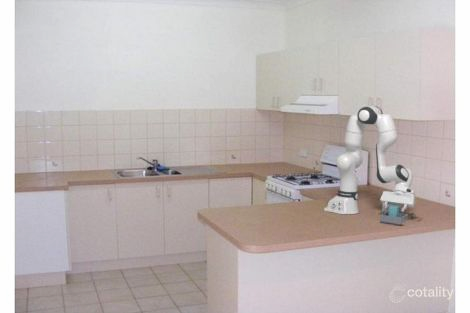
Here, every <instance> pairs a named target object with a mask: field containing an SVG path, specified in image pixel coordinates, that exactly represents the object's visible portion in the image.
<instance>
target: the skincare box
mask: <svg viewBox="0 0 470 313" xmlns="http://www.w3.org/2000/svg"><path fill="white" fill-rule="evenodd" d="M387 206H388V207H389V209H388V210H386V209H385V207H386V205H385V204H383V203H382V208H381V210H382V211H381V214H383V213H385V212H387V211H389V210H390V206H397V205H390V204H388V205H387Z"/></svg>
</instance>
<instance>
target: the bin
mask: <svg viewBox="0 0 470 313" xmlns="http://www.w3.org/2000/svg"><path fill="white" fill-rule="evenodd" d="M408 215H409V214H408V213H404V212H399V217H393V216H389V211H387V212H383V213H381V214H380V216H379V224H383V225H390V226H394V227H402V226H403V223H405V222H407V221H409V220H408Z"/></svg>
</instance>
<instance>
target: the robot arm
mask: <svg viewBox="0 0 470 313" xmlns="http://www.w3.org/2000/svg"><path fill="white" fill-rule="evenodd" d="M366 125H375V127H376V131H377V134H378V138H377V139H378V140H377V142H376V145H375V155H376V156H375V159H376V178H377V181H379V182H380V183H382V184H388V183H390V182H395V184H394V187H393V190H388V189H387V190H383V192H382V194H381V197H380V198H379V200H380V203H381V204H382V205H383V204H385V205H386V207H385V209H386V210H388V209H389V207H388V206H387V205H388V204H390V205H397V206H398V207H400V213H404V212H405V210H407V209H408V208H411V209H412V208H414V207H415V204H416V199H415V198H416V194H415V190H413V189H411V188H410V187H411V186H412V183H413V180H414V179H413V178H414V172H413V171H412V170H411V169H410V168H408V167H405V166H404V165H402V164H394V165H389V166H387V161H386V160H387V159H386V152H387V150H388V149H390V147H392V146H393V145H394V144H396V143H397V140H398V132H397V127H396V124H395V122H394V118H393V116H392V115H391V114H389V113H384V112H383V110H382V109H381V108H380V107H379V106H376V105H368V106H364V107H361V108H360V109H359V110H358V112H357V113H356V114H352V115H350V117H349V118H348V121H347V125H346V128H345V134H344V140H343V141H344V142H343V143H344V146H345V153H342V154H340V155H339V156H338V157H337V159H336V162H335V164H336V167H337V168H338V172H339V189H338V190H337V191H335V194H336V195H335V196H334V197H333V198H331V199H329V200H328V201H327V202H328V203H327V206H326V207H324V208H323V211H325V212H329V213H334V214H339V215H357V214H359V206H358V199H359V198H358V197H359V195H358V194H359V192H358V183H359V182H358V181H359V180H358V177H357V175H356V169H357V168H359V167H360V166H361V165H362V164H363V161H364V158H363V156H362V155H363V153H362V143H363V138H364V134H365V133H364V131H365V128H366Z"/></svg>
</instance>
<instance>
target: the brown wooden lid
mask: <svg viewBox="0 0 470 313" xmlns="http://www.w3.org/2000/svg"><path fill="white" fill-rule="evenodd" d="M423 220H425V217H422V216H415V213H414V212H411V213H410V215H409V214H408V220H407V221H412V222H421V221H423Z"/></svg>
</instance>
